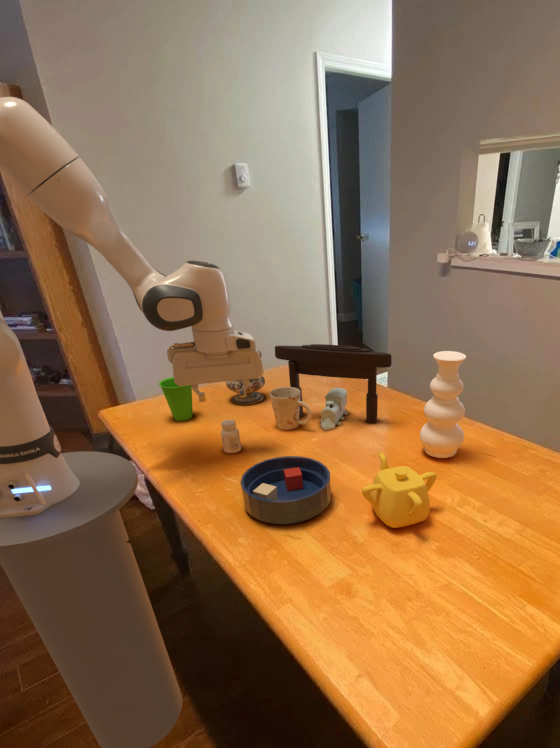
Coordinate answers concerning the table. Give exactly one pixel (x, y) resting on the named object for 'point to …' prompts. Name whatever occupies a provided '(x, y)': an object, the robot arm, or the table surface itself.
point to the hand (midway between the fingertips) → (223, 398)
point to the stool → (335, 374)
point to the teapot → (399, 494)
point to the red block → (293, 478)
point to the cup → (178, 399)
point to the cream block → (266, 492)
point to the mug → (288, 407)
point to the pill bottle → (230, 436)
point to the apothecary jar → (250, 392)
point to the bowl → (289, 503)
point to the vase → (444, 408)
